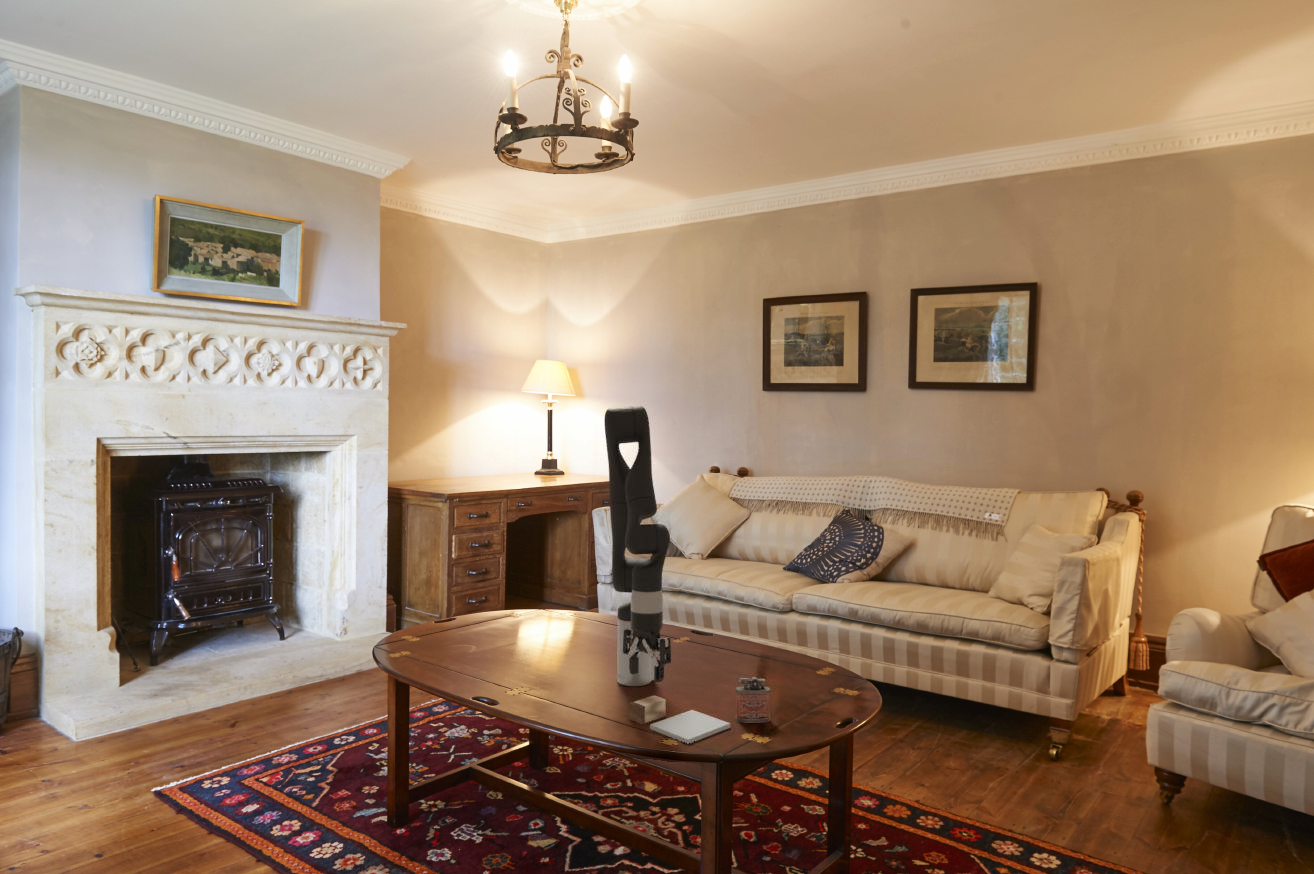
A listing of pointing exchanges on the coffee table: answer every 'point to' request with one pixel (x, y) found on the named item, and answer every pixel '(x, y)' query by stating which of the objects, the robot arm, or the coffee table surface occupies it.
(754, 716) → the lighter
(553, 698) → the coffee table surface
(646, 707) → the block
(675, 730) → the mat
